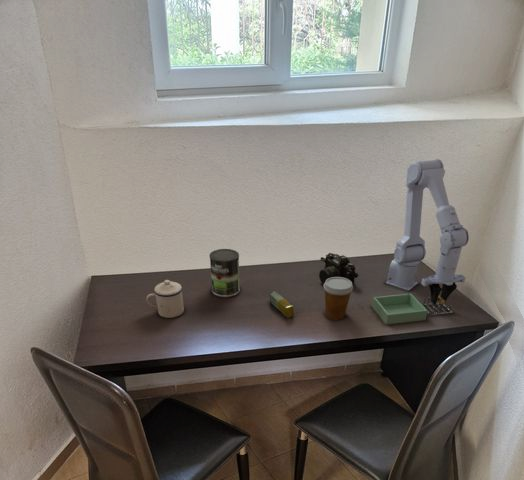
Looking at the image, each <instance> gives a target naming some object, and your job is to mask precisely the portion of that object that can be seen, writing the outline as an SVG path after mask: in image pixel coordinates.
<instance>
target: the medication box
mask: <svg viewBox="0 0 524 480" xmlns="http://www.w3.org/2000/svg"><path fill="white" fill-rule="evenodd" d="M269 299H270V303H271V304H272V305H273V306H274V307H275V308H276V309H277V310H279V311H280V313H282V314H283V315H284V316H285V318H291V317H293V316H294V315H295V314H294V305H292V304H291V303H290V302H289V301H288V300H286V298H284V297H283V296H282V295H281V294H279V293H278V292H277V291H276V290H275V291H272V292H270V293H269Z"/></svg>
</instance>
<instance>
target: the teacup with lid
mask: <svg viewBox="0 0 524 480" xmlns="http://www.w3.org/2000/svg"><path fill="white" fill-rule="evenodd" d="M151 297H155V301H156V304H155V303H152V302H151V301H150V298H151ZM146 303H147V304H148V306H150V307H152V308H157V313H158V315H159V316H160V317H163V318H167V319H172V318H177V317H179V316H181V315H182V314H183V313H184V310H185V308H184V299H183V286H182V285H181V284H180V283H178V282H176V281H171V280H170V279H164V281H163V282H160V283H158V284H157V285H155V287H154V290H153V293H149V294H147V296H146Z"/></svg>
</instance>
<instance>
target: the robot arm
mask: <svg viewBox="0 0 524 480" xmlns="http://www.w3.org/2000/svg"><path fill="white" fill-rule="evenodd" d="M445 174H446V170H445V167H444V163H443V161H442V160H441V159H439V158H436V159H433V160H432V159H430V160H421V161H416V160H415V161H412V163H410V164H409V166H408V167H407V168H406V183H405V185H406V197H405V210H404V211H405V212H404V213H405V214H404V229H403V236H402V237H401V238H399V239H398V240H397V241H396V244H395V245H396V246H395V249H394V251H393V257H394V258H393V259H392V260H391V262H390V264H389V267H388V273H387V279H386V281H385V284H386V285H391V286H394V287H397V288H400V289H403V290H406V291H411V290H412V289H413V288H414V287H415V286H416V285H417V284H419V282H418V281H416V276H417V271H418V267H419V264H421V261H423V260H424V259H425V257H426V253H427V250H426V245H425V244H426V240H425V239H423V238H422V237H421V225H422V224H421V222H422V213H423V212H422V210H423V197H424V190H425V189H426V188H427V189H428V190H429V192H430V194H431V197H432V199H433V201H434V203H435V206H436V208H437V211H436V213H435V217H436V220H437V223H438V226H439V229H440V232H441V235H440V236H439V243H440V248H439V250H440V255H439V259H438V263H437V267H436V271H435V274H434V275H430V276H427V277H425V278H424V277H423V278H422V279H421V283H420V284H421V285H422V286H423V287H428V288H429V292H430V302H431V303H433V304H434V305H437V304H436V302H437V303H438V300H437V299H438V296H440V297H441V298H442V299H443V300H445V303H446V302H447V300H448V299H449V297H450V295H451V294H452V293H453V292H454V291H455V290H456V289H457V288H458V285H457V284H456V283H462V284H463V283H465V282H466V279H467V277H466V276H465V275H464V274H456V271H457V267H458V264H459V260H460V256H461V253H462V249H463V247H465V246H467V244H468V243H469V238H470V236H469V231H468V229H466V228H465V226H463V224H461V222H460V220H459V217H458V214H457V210H456V208H455V206H453V205H451V204H450V202H449V199H448V195H447V191H446V187H445V186H446V185H445V182H444V177H445ZM441 285H442V286H441Z"/></svg>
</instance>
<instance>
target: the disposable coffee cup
mask: <svg viewBox="0 0 524 480" xmlns="http://www.w3.org/2000/svg"><path fill="white" fill-rule="evenodd" d="M322 285H323V284H322ZM323 289H324V298H325V299H324V301H325V302H324V304H325V317H326V318H329V319H330V320H335V321H336V320H341V319H342V318H344V317H345V316H346V312H347V308H348V305H349V301H350V297H351V293H352V292H353V290H354V286H353V285H352V282H351V281H350V280H348V279H346V278H343V277H331V278H329V279H327V280H326V281H325V283H324V285H323Z"/></svg>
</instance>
